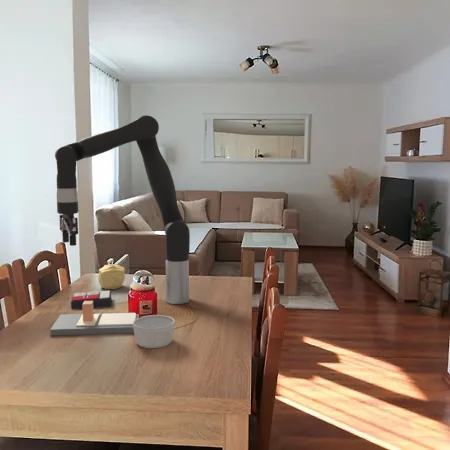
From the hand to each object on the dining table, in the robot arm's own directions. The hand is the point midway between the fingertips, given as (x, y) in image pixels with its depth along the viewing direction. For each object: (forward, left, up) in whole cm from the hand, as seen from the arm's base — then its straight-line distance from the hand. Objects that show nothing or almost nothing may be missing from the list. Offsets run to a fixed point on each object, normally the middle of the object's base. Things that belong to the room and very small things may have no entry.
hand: (69, 243), depth 190 cm
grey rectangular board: (-12, +19, -26) cm, 34 cm away
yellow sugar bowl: (-11, -33, -26) cm, 44 cm away
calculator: (-6, -9, -26) cm, 29 cm away
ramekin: (-32, +36, -26) cm, 55 cm away
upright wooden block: (-9, +19, -24) cm, 31 cm away
